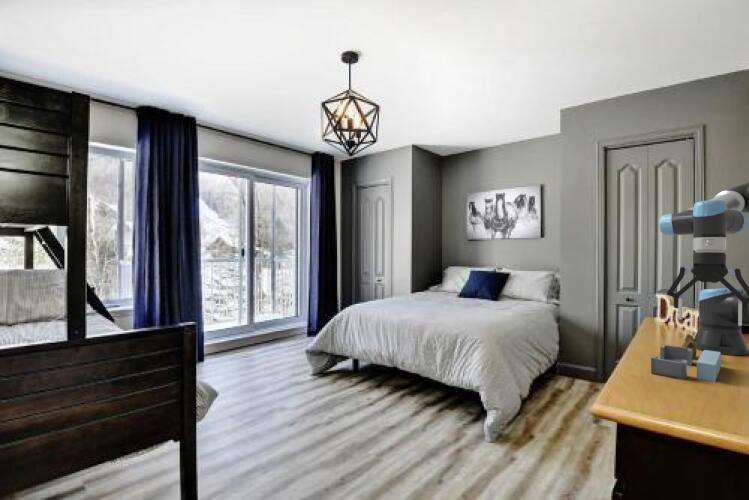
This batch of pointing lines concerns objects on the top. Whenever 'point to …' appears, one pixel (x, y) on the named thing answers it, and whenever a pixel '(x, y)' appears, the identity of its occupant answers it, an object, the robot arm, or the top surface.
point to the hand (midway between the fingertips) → (708, 322)
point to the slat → (709, 365)
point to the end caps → (672, 361)
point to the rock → (690, 343)
